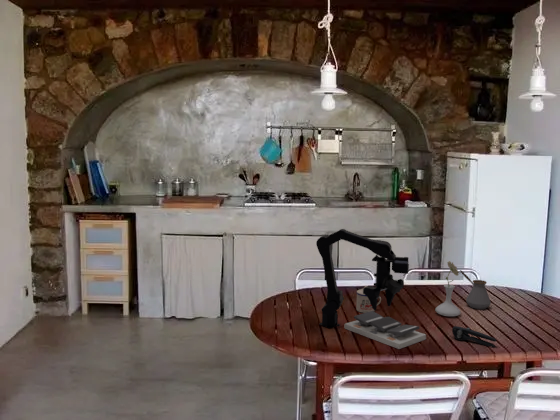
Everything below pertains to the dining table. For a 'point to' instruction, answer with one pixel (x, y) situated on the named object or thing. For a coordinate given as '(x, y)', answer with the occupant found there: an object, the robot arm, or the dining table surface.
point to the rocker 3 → (402, 329)
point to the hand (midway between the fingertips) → (382, 308)
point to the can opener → (464, 333)
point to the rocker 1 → (368, 317)
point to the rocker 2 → (385, 323)
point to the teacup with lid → (364, 302)
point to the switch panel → (385, 335)
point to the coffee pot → (477, 294)
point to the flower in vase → (449, 297)
